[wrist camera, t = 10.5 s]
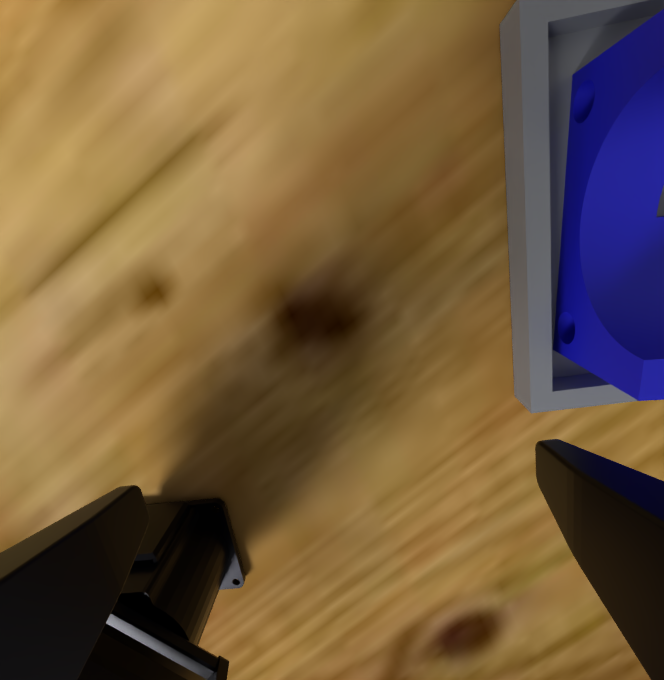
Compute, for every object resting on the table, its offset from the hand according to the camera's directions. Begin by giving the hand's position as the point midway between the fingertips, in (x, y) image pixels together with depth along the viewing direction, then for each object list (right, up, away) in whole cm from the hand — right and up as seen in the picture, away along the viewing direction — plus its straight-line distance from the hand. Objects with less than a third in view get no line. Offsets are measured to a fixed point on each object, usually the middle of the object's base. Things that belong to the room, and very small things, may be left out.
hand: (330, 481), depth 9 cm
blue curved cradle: (+13, +9, +9) cm, 18 cm away
